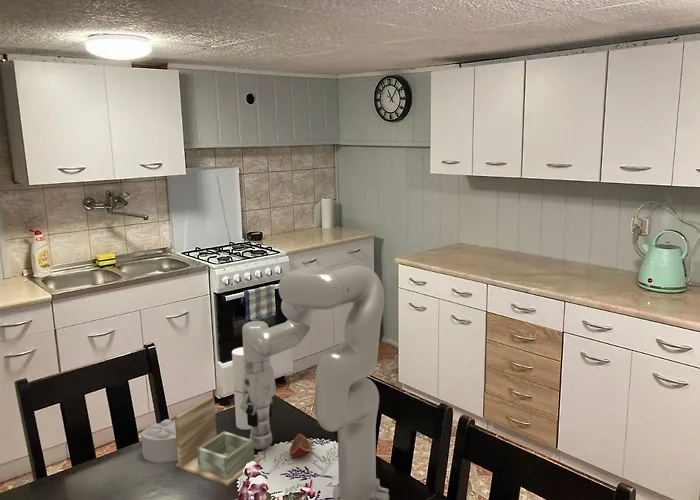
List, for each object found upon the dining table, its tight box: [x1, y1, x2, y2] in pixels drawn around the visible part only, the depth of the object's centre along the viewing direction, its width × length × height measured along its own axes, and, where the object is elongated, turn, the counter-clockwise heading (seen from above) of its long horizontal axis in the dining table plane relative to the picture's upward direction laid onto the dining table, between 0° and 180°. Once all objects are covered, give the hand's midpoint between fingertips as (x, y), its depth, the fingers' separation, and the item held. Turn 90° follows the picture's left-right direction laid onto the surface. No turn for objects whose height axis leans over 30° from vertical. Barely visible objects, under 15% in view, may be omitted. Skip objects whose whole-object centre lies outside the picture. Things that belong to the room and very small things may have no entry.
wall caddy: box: [173, 395, 261, 487], centre depth 162 cm, size 19×14×16 cm
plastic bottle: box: [249, 399, 273, 451], centre depth 170 cm, size 6×7×20 cm
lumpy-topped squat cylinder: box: [140, 418, 178, 463], centre depth 169 cm, size 10×13×9 cm
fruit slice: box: [288, 432, 313, 459], centre depth 167 cm, size 8×7×5 cm
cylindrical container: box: [231, 346, 251, 430], centre depth 183 cm, size 7×7×25 cm
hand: (260, 420), depth 170 cm, fingers closed on plastic bottle, 6 cm apart
